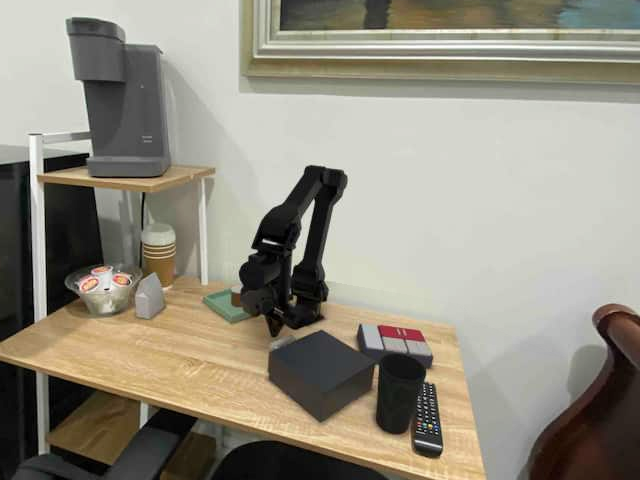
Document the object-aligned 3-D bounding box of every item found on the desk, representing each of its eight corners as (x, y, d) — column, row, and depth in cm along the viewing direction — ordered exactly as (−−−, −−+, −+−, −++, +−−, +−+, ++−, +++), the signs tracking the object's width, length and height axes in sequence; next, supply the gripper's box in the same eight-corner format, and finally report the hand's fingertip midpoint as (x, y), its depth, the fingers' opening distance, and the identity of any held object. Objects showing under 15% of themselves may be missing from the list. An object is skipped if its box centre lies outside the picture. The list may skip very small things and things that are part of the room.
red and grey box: (435, 355, 84) (365, 345, 84) (430, 371, 85) (361, 362, 86) (421, 328, 94) (359, 320, 94) (417, 343, 95) (356, 335, 96)
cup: (364, 407, 73) (373, 353, 69) (404, 406, 74) (415, 352, 69) (377, 440, 66) (388, 381, 61) (421, 438, 66) (434, 381, 62)
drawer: (255, 361, 83) (255, 342, 81) (300, 341, 91) (302, 323, 89) (314, 409, 70) (316, 388, 69) (360, 380, 79) (364, 360, 77)
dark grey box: (268, 379, 79) (270, 352, 76) (319, 354, 88) (321, 329, 86) (320, 423, 69) (324, 392, 66) (371, 389, 78) (376, 361, 75)
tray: (244, 289, 117) (244, 283, 117) (274, 308, 107) (275, 301, 107) (203, 302, 108) (203, 295, 108) (231, 323, 98) (231, 316, 98)
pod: (241, 298, 111) (241, 284, 109) (250, 304, 108) (250, 289, 106) (227, 302, 108) (227, 287, 106) (237, 309, 105) (237, 293, 103)
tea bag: (163, 307, 104) (161, 273, 101) (149, 319, 98) (146, 283, 95) (151, 305, 105) (149, 270, 102) (136, 316, 99) (133, 280, 96)
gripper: (220, 267, 83) (220, 330, 89) (277, 300, 70) (273, 371, 76) (261, 257, 90) (259, 316, 96) (319, 285, 77) (313, 351, 83)
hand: (274, 337), depth 87 cm, fingers closed
